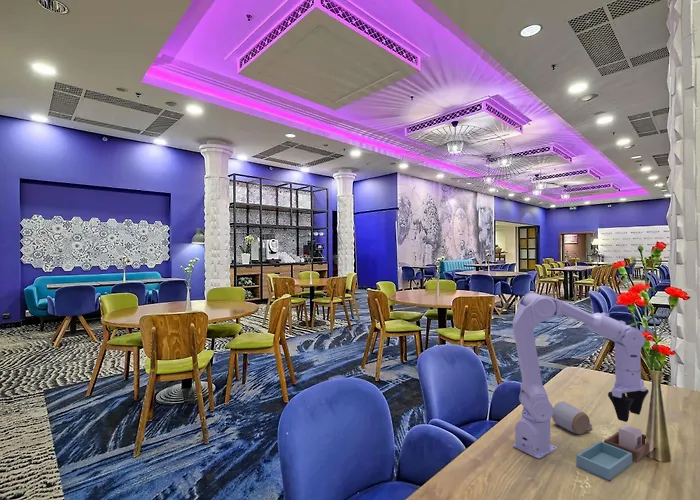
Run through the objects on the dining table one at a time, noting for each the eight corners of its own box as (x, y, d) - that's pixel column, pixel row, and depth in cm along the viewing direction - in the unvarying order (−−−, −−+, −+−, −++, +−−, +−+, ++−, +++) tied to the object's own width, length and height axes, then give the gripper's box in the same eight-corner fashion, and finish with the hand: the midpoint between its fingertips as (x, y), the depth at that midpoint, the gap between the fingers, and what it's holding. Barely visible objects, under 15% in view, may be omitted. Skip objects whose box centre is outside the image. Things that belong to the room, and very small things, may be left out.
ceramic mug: (574, 438, 111) (573, 412, 111) (551, 426, 119) (551, 402, 119) (599, 432, 115) (599, 407, 115) (575, 421, 123) (575, 397, 123)
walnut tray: (636, 464, 98) (636, 452, 98) (604, 450, 104) (604, 440, 104) (656, 449, 104) (656, 438, 104) (624, 437, 111) (624, 427, 111)
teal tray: (609, 481, 91) (609, 469, 91) (576, 466, 97) (576, 454, 97) (632, 464, 97) (632, 453, 97) (600, 451, 104) (599, 440, 104)
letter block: (636, 454, 101) (636, 434, 101) (618, 447, 105) (618, 428, 105) (642, 450, 103) (642, 430, 103) (625, 443, 107) (624, 424, 107)
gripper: (633, 377, 97) (634, 429, 97) (656, 367, 104) (657, 415, 104) (603, 370, 103) (604, 419, 103) (626, 361, 110) (628, 406, 110)
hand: (629, 416), depth 104 cm, fingers open, 7 cm apart
